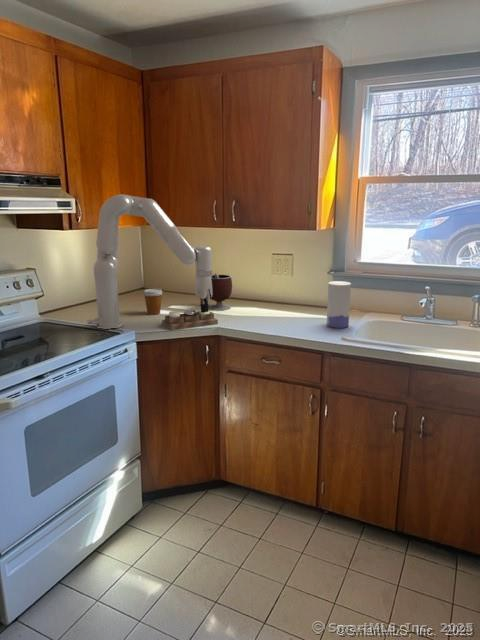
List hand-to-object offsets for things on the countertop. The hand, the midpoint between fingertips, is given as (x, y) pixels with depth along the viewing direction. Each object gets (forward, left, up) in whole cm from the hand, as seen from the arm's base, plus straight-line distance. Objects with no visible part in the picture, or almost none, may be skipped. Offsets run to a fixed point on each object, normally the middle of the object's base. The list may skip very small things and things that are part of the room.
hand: (204, 311), depth 224 cm
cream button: (-15, 0, -1) cm, 15 cm away
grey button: (-8, 0, -1) cm, 8 cm away
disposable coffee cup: (-16, +28, -5) cm, 33 cm away
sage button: (0, 0, -2) cm, 2 cm away
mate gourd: (+18, +22, -5) cm, 29 cm away
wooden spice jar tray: (-8, 0, -5) cm, 9 cm away
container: (+51, -35, -5) cm, 62 cm away
